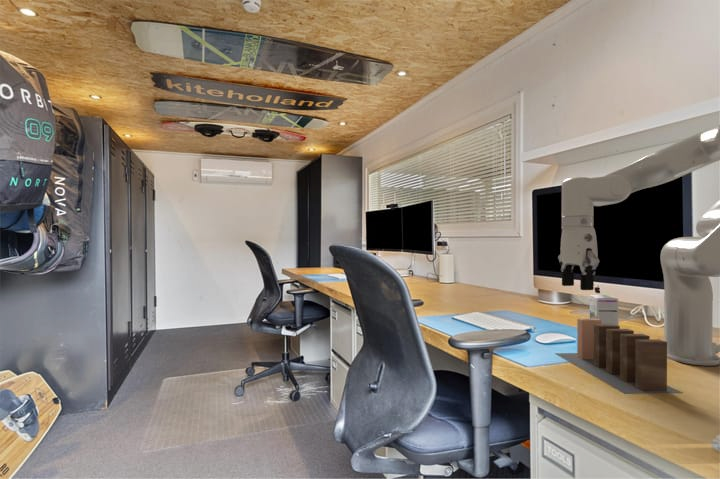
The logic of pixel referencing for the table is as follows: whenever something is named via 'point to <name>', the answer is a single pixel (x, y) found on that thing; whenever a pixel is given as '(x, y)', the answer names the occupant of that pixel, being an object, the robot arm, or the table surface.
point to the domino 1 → (586, 337)
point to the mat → (608, 375)
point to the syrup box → (604, 309)
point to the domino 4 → (629, 355)
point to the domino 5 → (651, 365)
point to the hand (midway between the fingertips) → (577, 287)
